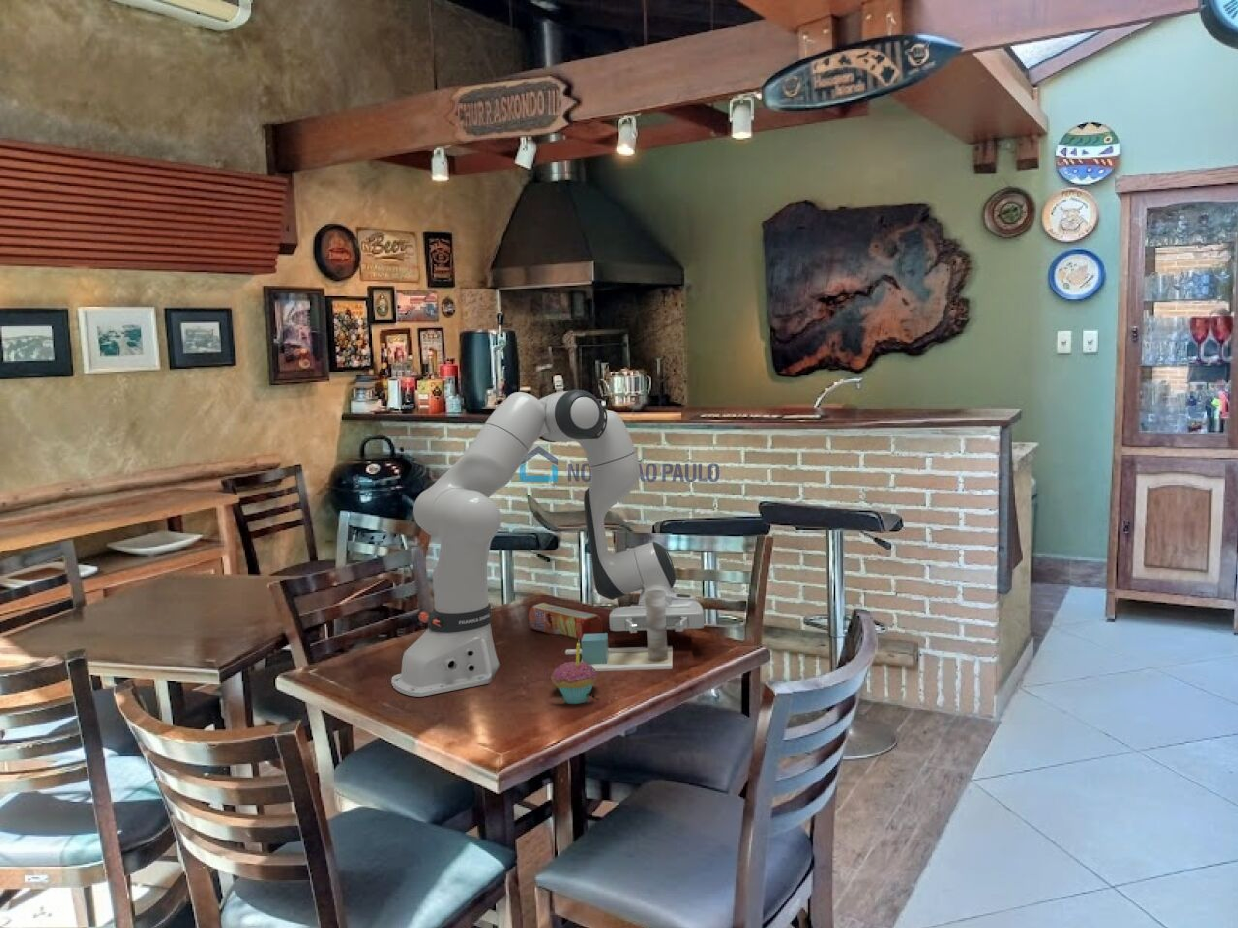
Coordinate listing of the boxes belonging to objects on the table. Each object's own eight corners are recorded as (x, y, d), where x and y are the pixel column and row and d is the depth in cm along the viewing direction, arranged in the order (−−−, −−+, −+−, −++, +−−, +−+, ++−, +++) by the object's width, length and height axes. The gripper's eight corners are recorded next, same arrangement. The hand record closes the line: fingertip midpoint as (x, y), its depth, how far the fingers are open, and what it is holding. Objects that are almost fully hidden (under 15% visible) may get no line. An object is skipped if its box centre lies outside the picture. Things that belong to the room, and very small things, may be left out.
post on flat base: (673, 656, 193) (669, 586, 191) (672, 670, 184) (669, 597, 182) (584, 659, 194) (579, 589, 193) (579, 673, 185) (575, 600, 184)
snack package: (527, 631, 220) (525, 603, 219) (549, 625, 224) (547, 598, 223) (582, 648, 204) (580, 618, 203) (605, 641, 208) (603, 612, 207)
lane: (673, 655, 195) (672, 645, 195) (672, 675, 182) (672, 665, 182) (566, 658, 196) (566, 649, 196) (558, 678, 184) (558, 669, 183)
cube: (608, 656, 192) (607, 633, 191) (607, 663, 187) (605, 640, 186) (585, 656, 192) (583, 633, 191) (582, 664, 187) (581, 640, 186)
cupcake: (607, 697, 172) (603, 636, 170) (574, 711, 166) (570, 647, 164) (576, 688, 178) (573, 628, 176) (543, 701, 172) (539, 639, 170)
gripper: (609, 598, 201) (605, 615, 188) (702, 595, 200) (704, 612, 186) (611, 626, 202) (606, 644, 188) (703, 623, 201) (705, 642, 187)
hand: (656, 628), depth 187 cm, fingers open, 8 cm apart
